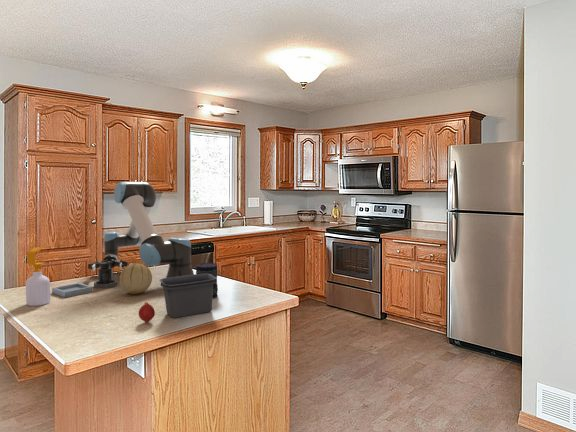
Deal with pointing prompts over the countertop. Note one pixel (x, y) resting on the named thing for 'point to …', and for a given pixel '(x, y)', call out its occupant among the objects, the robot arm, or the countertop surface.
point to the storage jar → (209, 269)
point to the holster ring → (97, 285)
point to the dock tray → (71, 290)
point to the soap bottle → (37, 283)
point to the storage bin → (188, 294)
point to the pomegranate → (146, 312)
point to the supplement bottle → (105, 273)
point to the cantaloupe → (135, 278)
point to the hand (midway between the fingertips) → (107, 268)
